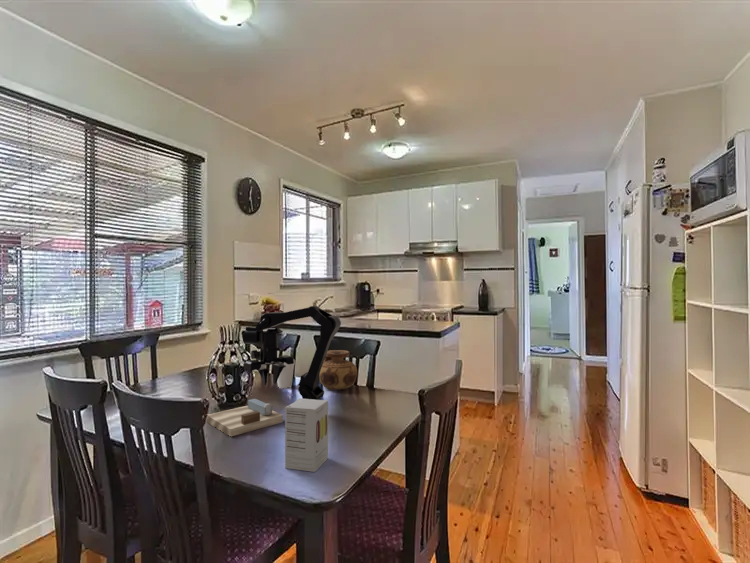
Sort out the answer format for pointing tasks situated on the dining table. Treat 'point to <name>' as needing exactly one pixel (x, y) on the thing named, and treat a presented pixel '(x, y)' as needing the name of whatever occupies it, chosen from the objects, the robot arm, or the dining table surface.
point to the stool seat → (232, 420)
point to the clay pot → (337, 370)
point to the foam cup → (286, 376)
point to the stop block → (250, 417)
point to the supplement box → (306, 434)
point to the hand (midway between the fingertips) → (270, 384)
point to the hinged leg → (260, 406)
